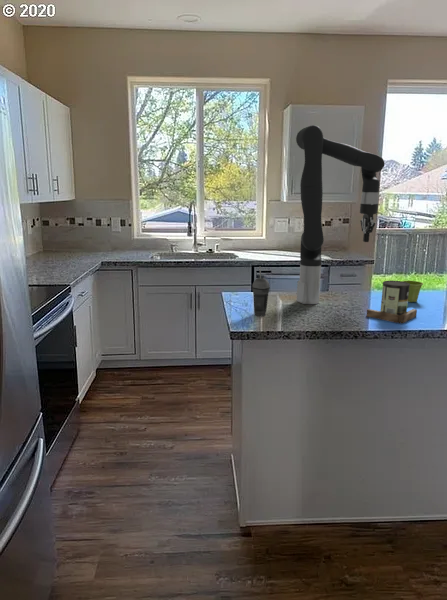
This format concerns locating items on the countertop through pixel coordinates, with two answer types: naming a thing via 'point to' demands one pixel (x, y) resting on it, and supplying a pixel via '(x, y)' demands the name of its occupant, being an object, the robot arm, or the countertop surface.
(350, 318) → the countertop surface
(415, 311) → the bracket
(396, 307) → the coffee can
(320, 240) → the robot arm
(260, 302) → the beverage cup
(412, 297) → the plant pot
